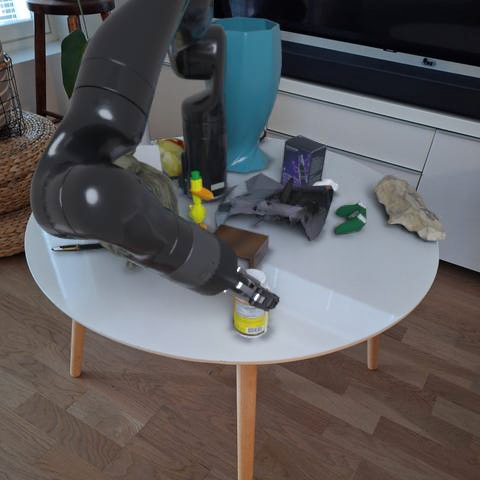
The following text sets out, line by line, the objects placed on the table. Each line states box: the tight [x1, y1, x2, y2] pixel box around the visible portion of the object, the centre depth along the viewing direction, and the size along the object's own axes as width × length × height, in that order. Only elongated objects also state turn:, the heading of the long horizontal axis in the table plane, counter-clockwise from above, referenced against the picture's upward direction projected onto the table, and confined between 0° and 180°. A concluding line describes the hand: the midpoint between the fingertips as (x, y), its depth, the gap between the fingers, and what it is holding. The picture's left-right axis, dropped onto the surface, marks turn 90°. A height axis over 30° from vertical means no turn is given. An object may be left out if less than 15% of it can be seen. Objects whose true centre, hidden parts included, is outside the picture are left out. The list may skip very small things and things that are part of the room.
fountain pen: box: [50, 242, 106, 252], centre depth 89 cm, size 14×1×2 cm
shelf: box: [212, 224, 270, 269], centre depth 87 cm, size 10×7×4 cm
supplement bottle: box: [232, 268, 272, 339], centre depth 70 cm, size 6×6×10 cm
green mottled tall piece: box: [97, 148, 181, 270], centre depth 77 cm, size 14×9×25 cm, turn 50°
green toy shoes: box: [334, 199, 367, 235], centre depth 95 cm, size 9×4×6 cm
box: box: [280, 134, 328, 187], centre depth 105 cm, size 8×6×11 cm
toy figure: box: [188, 171, 213, 230], centre depth 91 cm, size 7×4×12 cm, turn 49°
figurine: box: [313, 177, 339, 196], centre depth 103 cm, size 2×8×5 cm, turn 125°
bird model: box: [253, 177, 304, 227], centre depth 97 cm, size 5×12×10 cm
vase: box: [204, 16, 283, 174], centre depth 109 cm, size 17×17×30 cm
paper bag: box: [214, 172, 335, 241], centre depth 94 cm, size 18×20×9 cm
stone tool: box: [373, 174, 447, 242], centre depth 96 cm, size 12×6×20 cm
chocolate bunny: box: [156, 137, 184, 177], centre depth 115 cm, size 7×11×15 cm
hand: (260, 292), depth 70 cm, fingers closed on supplement bottle, 5 cm apart
